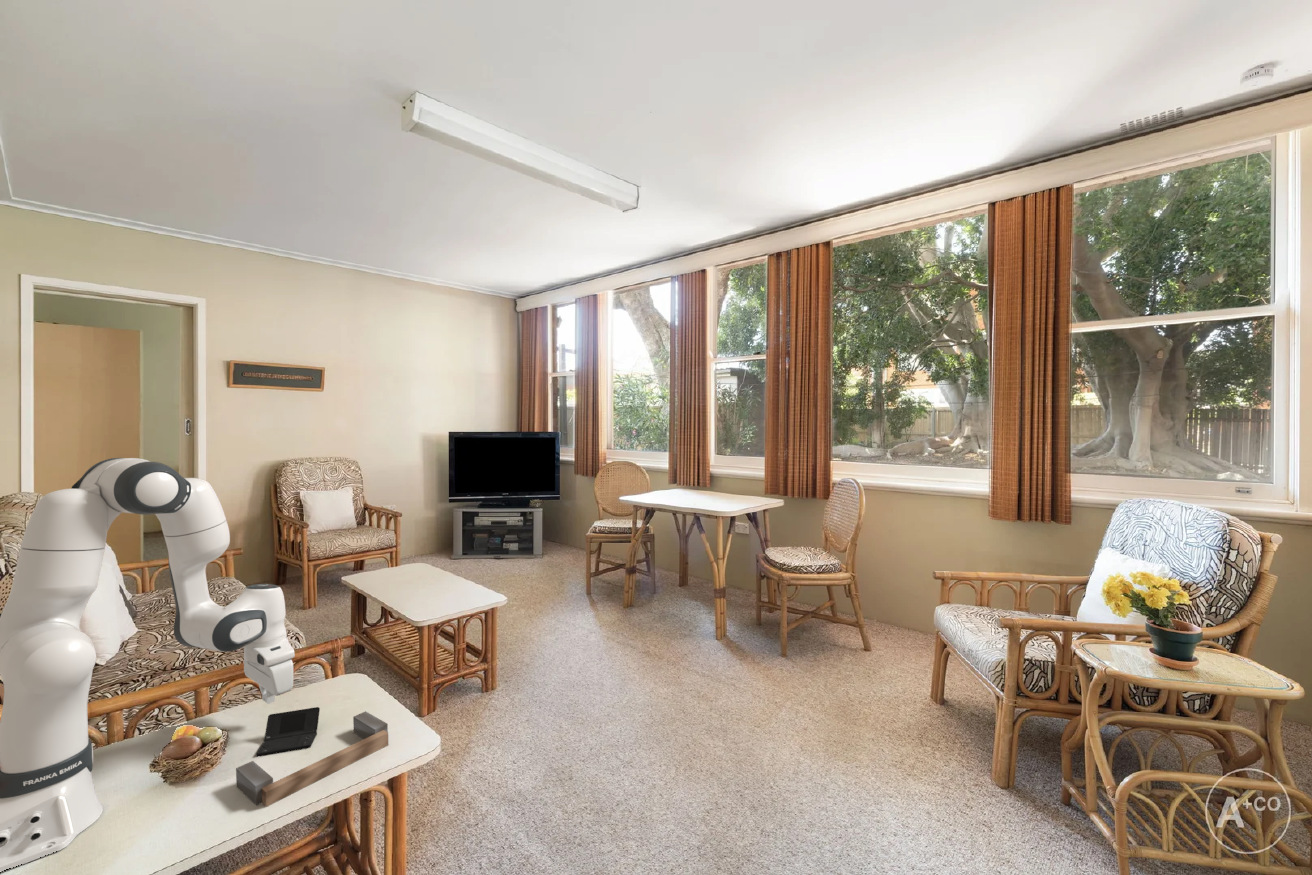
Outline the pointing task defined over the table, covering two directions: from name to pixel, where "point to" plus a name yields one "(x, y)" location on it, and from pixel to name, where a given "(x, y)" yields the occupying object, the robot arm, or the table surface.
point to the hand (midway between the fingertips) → (268, 701)
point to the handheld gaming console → (290, 731)
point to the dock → (265, 791)
